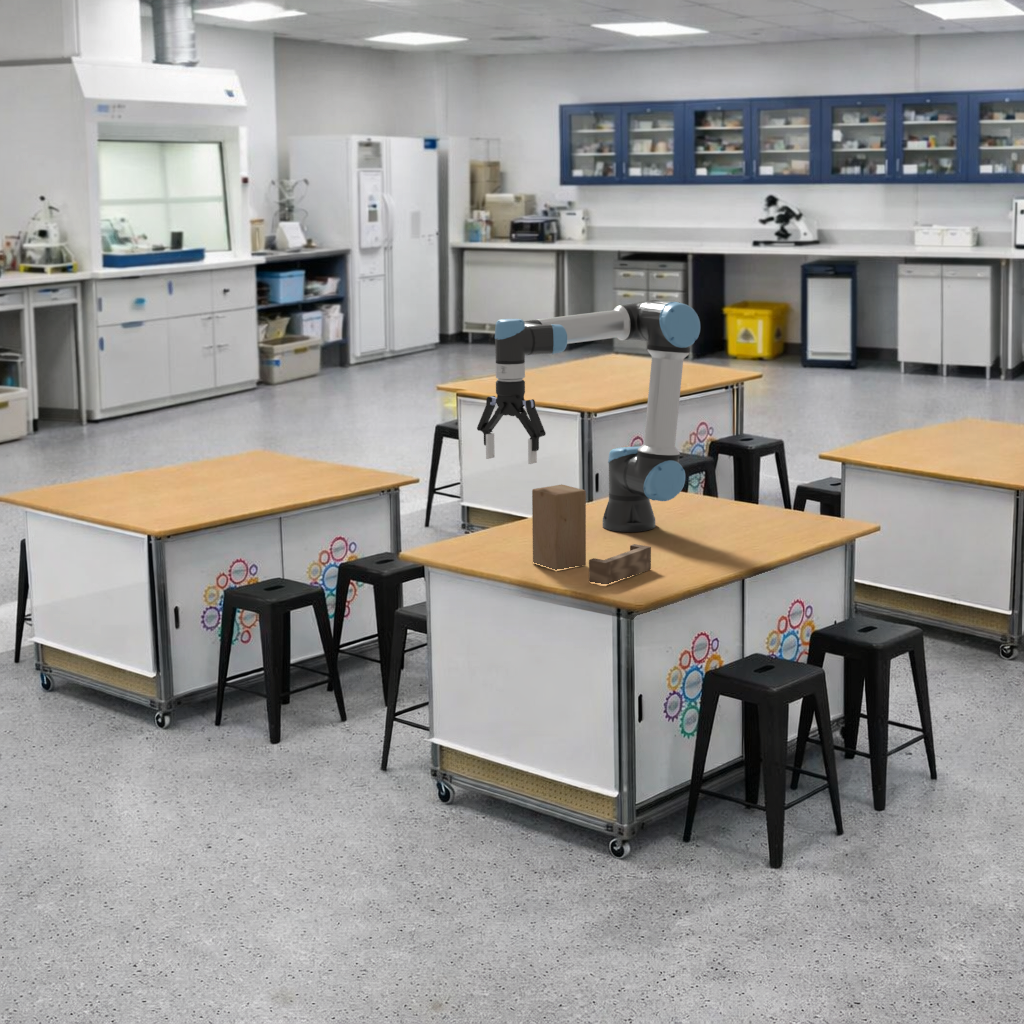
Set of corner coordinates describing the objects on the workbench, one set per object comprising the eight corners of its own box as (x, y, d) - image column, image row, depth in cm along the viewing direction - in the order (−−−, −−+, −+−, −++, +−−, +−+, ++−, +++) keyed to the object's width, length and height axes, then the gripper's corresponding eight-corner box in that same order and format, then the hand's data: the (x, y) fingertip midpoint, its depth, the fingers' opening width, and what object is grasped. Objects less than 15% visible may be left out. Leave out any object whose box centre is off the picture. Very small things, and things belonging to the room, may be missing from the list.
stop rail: (634, 566, 369) (634, 544, 368) (650, 569, 366) (651, 546, 364) (589, 583, 354) (589, 559, 352) (605, 586, 350) (605, 562, 349)
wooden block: (555, 572, 364) (555, 495, 360) (532, 564, 372) (531, 488, 368) (586, 566, 370) (586, 489, 366) (562, 558, 378) (562, 483, 374)
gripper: (463, 377, 375) (464, 458, 380) (541, 384, 361) (542, 467, 366) (480, 374, 381) (481, 453, 386) (558, 381, 367) (558, 463, 372)
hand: (511, 460), depth 376 cm, fingers open, 13 cm apart
